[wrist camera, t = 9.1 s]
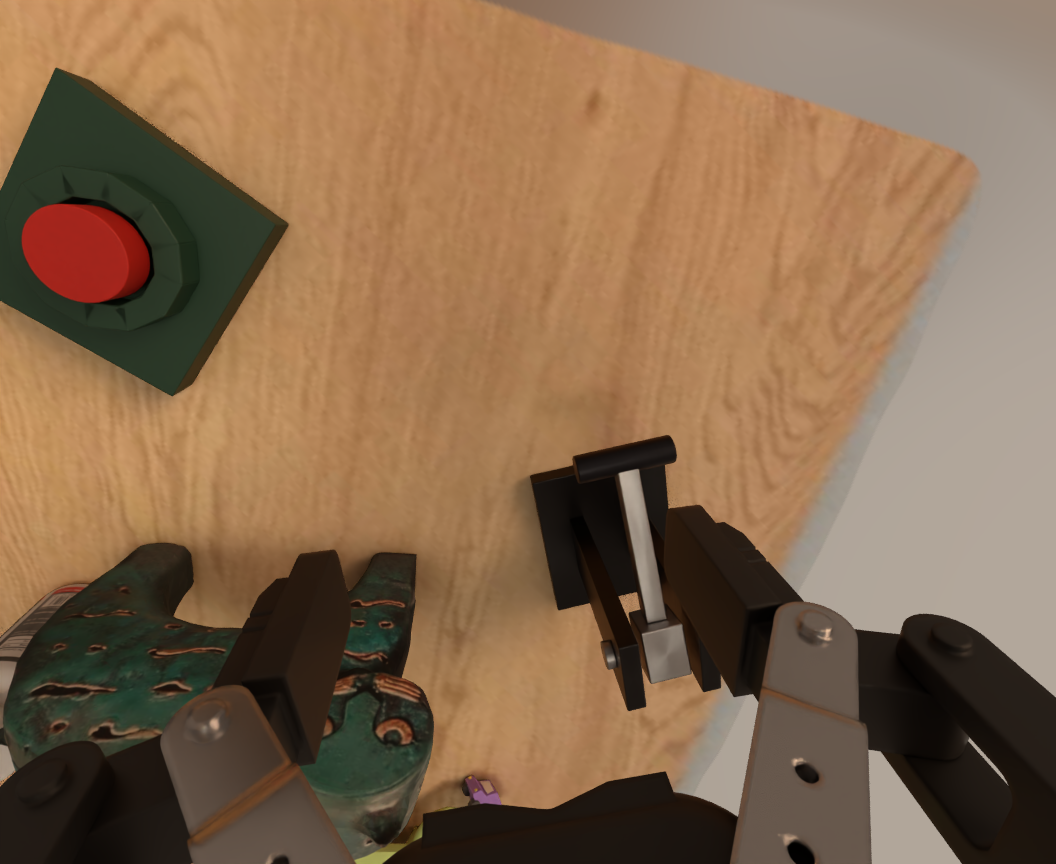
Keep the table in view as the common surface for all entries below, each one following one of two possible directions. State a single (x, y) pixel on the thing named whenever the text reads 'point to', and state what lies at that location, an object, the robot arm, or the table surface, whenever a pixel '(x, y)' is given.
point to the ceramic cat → (193, 666)
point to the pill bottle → (11, 645)
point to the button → (85, 252)
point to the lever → (642, 552)
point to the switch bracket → (609, 567)
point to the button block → (159, 217)
